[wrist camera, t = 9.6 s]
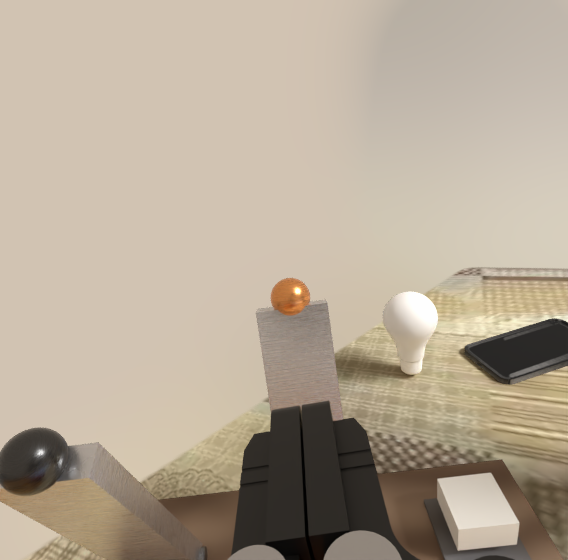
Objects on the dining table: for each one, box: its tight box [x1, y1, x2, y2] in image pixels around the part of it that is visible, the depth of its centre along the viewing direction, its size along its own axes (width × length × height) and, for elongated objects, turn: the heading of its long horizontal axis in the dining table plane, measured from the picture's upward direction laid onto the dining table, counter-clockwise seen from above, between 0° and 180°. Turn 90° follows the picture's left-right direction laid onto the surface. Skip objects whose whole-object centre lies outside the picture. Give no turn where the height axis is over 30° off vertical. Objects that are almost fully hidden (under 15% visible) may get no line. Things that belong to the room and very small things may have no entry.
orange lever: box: [256, 278, 343, 421], centre depth 30 cm, size 3×6×21 cm, turn 91°
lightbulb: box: [383, 292, 438, 375], centre depth 49 cm, size 6×6×11 cm
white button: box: [437, 473, 520, 551], centre depth 30 cm, size 4×4×3 cm
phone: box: [465, 319, 568, 384], centre depth 51 cm, size 8×1×15 cm
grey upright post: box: [0, 428, 208, 560], centre depth 25 cm, size 3×6×21 cm, turn 91°
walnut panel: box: [158, 460, 564, 560], centre depth 31 cm, size 12×32×2 cm, turn 91°
